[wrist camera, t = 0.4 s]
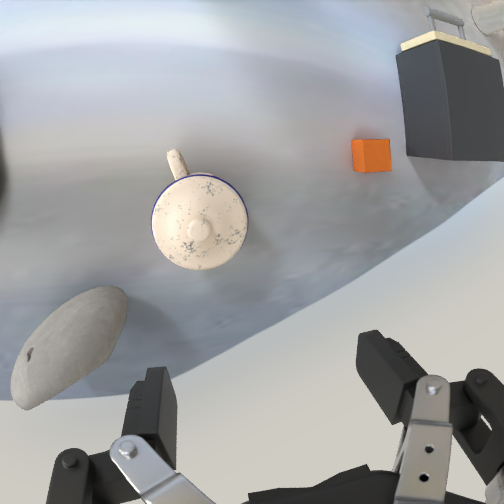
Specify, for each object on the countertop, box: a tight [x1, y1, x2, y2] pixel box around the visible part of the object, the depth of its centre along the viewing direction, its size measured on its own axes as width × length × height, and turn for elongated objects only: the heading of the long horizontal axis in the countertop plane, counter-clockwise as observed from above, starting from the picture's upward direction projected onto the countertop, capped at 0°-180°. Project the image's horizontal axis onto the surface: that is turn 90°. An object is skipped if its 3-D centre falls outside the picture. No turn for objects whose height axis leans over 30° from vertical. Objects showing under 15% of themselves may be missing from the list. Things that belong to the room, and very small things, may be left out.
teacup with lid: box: [151, 149, 248, 270], centre depth 32 cm, size 12×9×12 cm
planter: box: [11, 286, 128, 410], centre depth 30 cm, size 18×7×19 cm, turn 122°
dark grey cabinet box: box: [396, 40, 504, 162], centre depth 33 cm, size 15×13×10 cm
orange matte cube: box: [351, 139, 391, 173], centre depth 37 cm, size 4×4×3 cm
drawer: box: [401, 7, 491, 57], centre depth 32 cm, size 18×11×8 cm, turn 7°
